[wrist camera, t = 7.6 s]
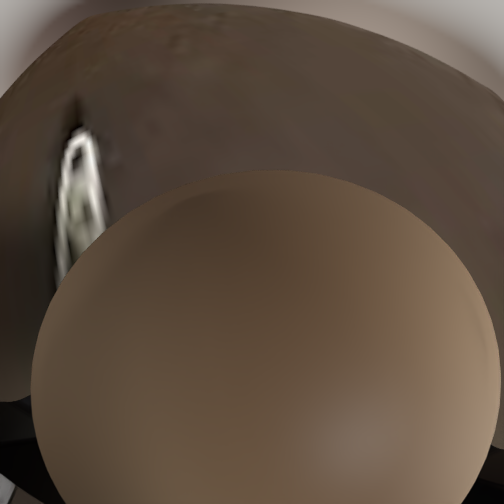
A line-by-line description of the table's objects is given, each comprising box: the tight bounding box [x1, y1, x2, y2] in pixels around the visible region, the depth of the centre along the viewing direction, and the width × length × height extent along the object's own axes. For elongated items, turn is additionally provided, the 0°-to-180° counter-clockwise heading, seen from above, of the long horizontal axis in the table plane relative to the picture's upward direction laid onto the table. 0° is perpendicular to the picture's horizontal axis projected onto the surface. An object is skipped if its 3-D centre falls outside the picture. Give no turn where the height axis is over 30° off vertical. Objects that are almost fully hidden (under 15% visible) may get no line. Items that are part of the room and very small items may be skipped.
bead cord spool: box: [31, 170, 501, 504], centre depth 8 cm, size 6×6×13 cm
